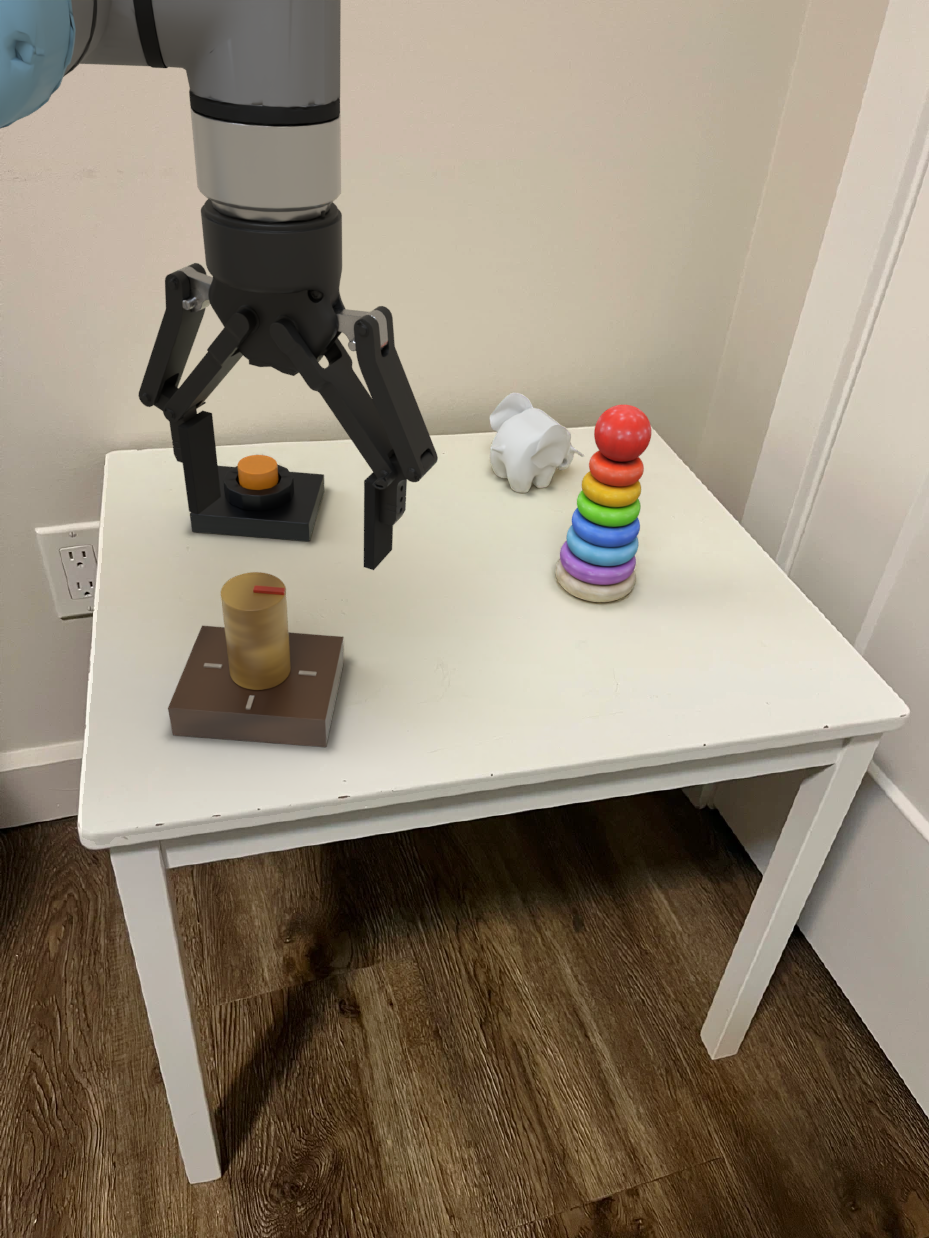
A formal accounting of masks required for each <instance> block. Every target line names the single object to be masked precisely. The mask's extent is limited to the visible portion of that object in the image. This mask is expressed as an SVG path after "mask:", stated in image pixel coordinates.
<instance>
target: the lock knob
mask: <svg viewBox="0 0 929 1238" xmlns="http://www.w3.org/2000/svg"><path fill="white" fill-rule="evenodd" d="M220 601H221V602H220V603H221V608H222V619H223V627H224V628H225V636H226V645H227V654H228V662H229V671H230V676H231V678H232V680H233V681H234V682H235V683H236V684H238V685H239V686H241V687H243V688H246V689H251V690H264V689H269V688H272V687H275V686H277V685H279V684H281V683H282V682H283V681H284V680H285V679H286V678H287V677H288V675H289V673H290V670H291V664H290V647H289V617H288V599H287V587H286V585H285V583H284V582H283V581H282V580H281V579H280V578H279V577H278V576H276V575H273V574H271V573H267V572H261V571H256V572H255V571H252V572H251V571H250V572H244V573H241V574H238V575H235V576H233V577H231V578H229V579H228V580H227V581H226V582H224V584H223V585H222V587H221V589H220Z"/></svg>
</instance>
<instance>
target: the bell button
mask: <svg viewBox="0 0 929 1238" xmlns="http://www.w3.org/2000/svg"><path fill="white" fill-rule="evenodd" d="M277 464H278V462H277V460H276V459H275V458H273V457H272V456H270V455H265V454H251V455H247V456H245V457H242V458H241V459H240V460H238V462H237V466H238V477H239V484H240V485H241V486H242V487H244V488H246V489H252V490H262V489H268V488H272V487H273V486H275V485H277V483H278V466H277Z"/></svg>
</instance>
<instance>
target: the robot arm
mask: <svg viewBox="0 0 929 1238" xmlns="http://www.w3.org/2000/svg"><path fill="white" fill-rule="evenodd" d="M341 2H342V1H341V0H0V129H4V128H8V127H10V126H11V125H13V124H14V123H15V122H17V121H19V120H21V119H23V118H26V117H29V116H31V115H32V114H34V113H35V112H37V111H38V110H40V109H41V108H42V107H43V106H44V105H45V104H47V103H49V101H50V99H51V97H52V95H53V94H54V93H55V92H56V91H57V90H58V89H59V88H60V87H61V85H62V82H63V79H64V77H66V76H67V75H68V74H70V73H71V72H73V71H74V70H75V69H76V68H77V67H78V66H79V65H103V66H128V67H130V66H132V67H150V68H152V69H168V68H176V69H177V68H179V69H183V70H185V72H186V73H185V74H186V77H187V82H188V87H189V90H188V95H189V97H188V98H189V106H190V118H191V129H192V140H193V155H194V163H195V175H196V186H197V189H198V190H199V192H200V194H201V195H203V196H204V197H205V198H206V200H205V202H204V204H203V205H202V206H201V208H200V218H201V219H200V220H201V228H202V237H203V238H202V239H203V249H204V257H205V259H204V260H205V265H206V269H207V270H206V269H205V267H204V266H203V265H202V264H200V263H198V262H193V263H191V264H189V265H187V266H183V267H181V268H179V269H177V270H174V271H173V272H171V273H169V274H167V275H166V276H165V278H164V295H165V296H164V297H165V298H164V299H165V310H164V313H163V316H162V319H161V323H160V326H159V328H158V332H157V335H156V338H155V341H154V344H153V347H152V350H151V354H150V356H149V360H148V363H147V366H146V368H145V372H144V375H143V378H142V381H141V384H140V387H139V391H138V399H139V400H140V403H141V404H142V405H143V406H145V407H148V408H152V407H156V408H157V409H159V410H160V411H161V412H162V414H163V416H164V418H165V419H166V420H167V421H168V422H169V428H170V429H169V430H170V436H171V437H170V438H171V441H172V442H171V444H172V451H173V456H174V457H175V459H176V462H178V463H181V464H182V469H183V477H184V485H185V492H186V500H187V508H188V512H190V513H191V512H192V513H195V514H200V513H201V512H202V511H203V510H205V509H206V508H207V507H209V506H210V505H211V504H212V503H214V502H215V501H216V500H218V499H219V498H220V497H221V492H220V483H219V473H218V466H219V465H218V455H217V446H216V437H215V428H214V427H215V426H214V417H213V412H209V411H207V410H201V411H199V412H198V410H197V409H199V408H200V407H202V406H203V405H205V404H207V402H206V400H207V399H208V398H209V396H211V394H212V393H213V392H214V391H215V390H216V388H217V387H218V386H219V385H220V384H221V382H222V381H223V380H224V379H225V378H226V376H227V375H228V374H229V373H230V372H231V370H232V369H233V368H234V367H235V366H236V365H237V363H238V362H239V361H240V360H241V359H242V358H243V357H244V358H245V359H247V360H248V365H251V366H254V367H258V368H273V369H274V370H275V371H278V372H280V373H282V374H284V375H288V376H292V377H295V376H297V375H298V374H299V375H300V376H301V378H302V379H303V381H304V382H305V384H306V385H307V387H308V388H309V389H310V390H312V391H314V392H316V393H318V394H319V395H320V396H321V397H322V399H323V400H324V402H325V403H326V405H327V407H328V408H329V409H330V411H331V413H332V414H333V416H334V417H335V418H336V419H337V421H338V423H339V424H340V426H341V427H342V428H343V430H344V431H345V433H346V434H347V435H348V437H349V439H350V440H351V442H352V443H353V445H354V446H355V448H356V449H357V451H358V452H359V454H360V455H361V456H362V458H363V460H364V461H365V463H366V464H367V465H368V467H369V468H370V470H371V471H372V472H371V473H370V474H369V475H368V476H367V477H366V478H365V479H364V480H363V568H365V569H368V570H372V571H375V570H376V569H377V567H379V565H380V564H381V563H382V562H383V561H384V560H385V559H386V558H387V556H389V554H390V553H391V552H392V551H393V537H394V536H393V535H394V525H396V523H397V522H398V521H400V519H401V518H402V517H403V516H404V513H405V512H406V508H407V489H408V488H407V484H408V481H409V482H411V483H417V482H420V480H422V478H424V476H426V474H427V473H428V472H429V471H430V470H432V468H433V467H434V466H435V465H436V464H437V463H438V459H439V456H438V453H437V450H436V447H435V446H434V443H433V440H432V438H431V435H430V432H429V430H428V427H427V425H426V422H425V419H424V417H423V414H422V412H421V410H420V407H419V405H418V402H417V399H416V397H415V394H414V392H413V390H412V387H411V384H410V381H409V379H408V376H407V374H406V371H405V369H404V366H403V363H402V361H401V359H400V356H399V354H398V351H397V349H396V345H395V331H394V320H393V319H394V318H393V314H392V312H391V310H390V309H389V308H388V307H387V306H384V305H379V306H377V307H375V308H374V309H372V310H370V311H367V310H366V311H365V310H358V309H357V310H355V309H348V308H347V309H346V306H345V304H344V302H343V299H342V296H341V292H340V285H341V279H342V272H343V213H342V212H341V210H340V209H339V208H338V206H337V205H336V203H334V202H335V201H336V200H337V199H338V198H339V196H340V195H341V194H342V142H341V141H342V139H341V137H342V133H341V132H342V131H341V130H342V129H341V127H342V126H341V125H342V123H341V121H342V120H341V19H342V18H341V12H342V11H341ZM207 271H208V272H209V274H210V275H208V274H207ZM209 306H211V308H212V310H213V312H214V313H215V315H216V317H217V318H218V319H219V322H220V323H221V325H222V326H223V329H222V330H221V331H220V332H219V334H218V335H217V336H216V337H215V338H214V340H213V341H212V342H211V344H209V346H208V347H207V349H206V353H205V354H204V356H203V357H202V358H201V359H200V360H199V362H198V363H197V365H196V366H195V367H194V369H193V370H192V371H191V372H190V373H189V375H188V376H187V377H186V378H185V380H184V381H183V382H182V383H181V384H180V382H181V380H182V377H183V373H184V371H185V367H186V366H187V363H188V361H189V357H190V354H191V351H192V349H193V346H194V344H195V340H196V338H197V335H198V333H199V329H200V327H201V324H202V322H203V319H204V315H205V312H206V310H207V309H206V308H208V307H209ZM341 334H343V335H345V336H346V337H347V340H348V343H347V347H348V349H349V350H350V351H351V352H355V353H356V359H357V363H358V367H359V370H360V373H361V375H362V378H363V380H364V383H365V385H366V387H365V386H364V384H363V383H362V381H361V380H360V378H359V377H358V375H357V373H356V372H355V371H354V369H353V359H352V357H351V355H350V353H349V352H348V351H347V349H346V348H345V346H344V345H343V343H342V341H341V340H340V339H339V337H340V336H341ZM323 357H324V358H325V359H326V360H327V362H328V365H327V366H326V367H323V366H321V364H320V362H321V360H322V359H323ZM179 385H180V386H179ZM366 388H367V389H366Z"/></svg>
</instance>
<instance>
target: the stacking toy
mask: <svg viewBox="0 0 929 1238" xmlns="http://www.w3.org/2000/svg"><path fill="white" fill-rule="evenodd" d="M593 435H594V437H593V438H594V442H595V446H596V447H597V449H598V450H597V451H596V452H594V453H593V454H592V455H591V457H590V458H589V460H588V461H589V462H588V469H589V471H587V473H586V474H585V475H584V476H583V478H582V480H581V490H580V491H579V493H578V495H577V498H576V508H575V509H574V511H573V513H572V515H571V525H570V526H569V528H568V530H567V533H566V539H565V541H564V542H563V543H562V546H560V550H559V559H558V560H557V562H556V565H555V577H556V580H557V582H558V583H559V585H560V586H561V588H562V589H564V591H566V592H567V593H569V594H570V595H571V596H574V597H576V598H578V599H581V600H583V601H587V602H594V603H608V602H615V601H617V600H620V599H622V598H624V597H626V596H627V595H628V594H629V593H630V592H631V591H632V590H633V589H634V586H635V585H636V584H635V583H636V572H635V568H636V566H637V557H636V554H637V552H638V551H639V545H640V544H639V537H638V535H639V533H640V531H641V524H640V523H641V522H640V519H639V516H640V515H639V514H640V513H641V502H640V501H641V500H640V499H639V498H640V496H641V494H642V485H641V482H640V479H641V478H642V476H643V474H644V470H645V466H644V462H643V461H642V459H641V458H640V456H642V455H643V454H644V453H645V451H647V448H648V447H649V445H650V442H651V439H652V425H651V422H650V419H649V418H648V416H647V415H646V413H644V412H643V410H642V409H640V408H638V407H636V406H634V405H631V404H616V405H614V406H611V407H609V408H607V409H606V410H605V411H603V412H602V413H601V415H600V416H599V417H598V419H597V421H596V422H595V426H594V431H593Z"/></svg>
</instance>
